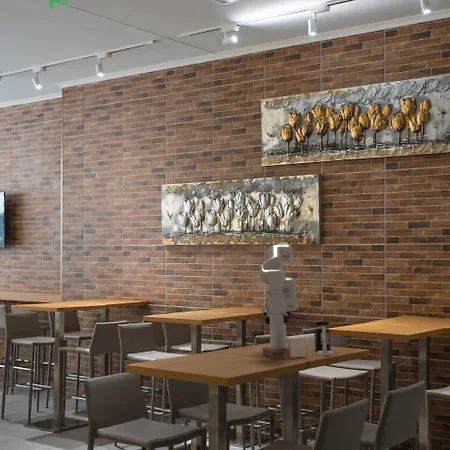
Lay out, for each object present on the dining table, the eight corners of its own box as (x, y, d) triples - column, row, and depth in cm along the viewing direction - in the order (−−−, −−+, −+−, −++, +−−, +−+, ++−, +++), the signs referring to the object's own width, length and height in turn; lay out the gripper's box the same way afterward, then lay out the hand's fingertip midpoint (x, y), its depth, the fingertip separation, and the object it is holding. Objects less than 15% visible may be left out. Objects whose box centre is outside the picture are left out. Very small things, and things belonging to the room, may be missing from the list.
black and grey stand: (314, 356, 407) (313, 328, 408) (317, 353, 417) (316, 326, 417) (332, 356, 405) (331, 328, 405) (335, 353, 414) (334, 326, 415)
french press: (319, 349, 435) (317, 309, 436) (334, 350, 430) (332, 310, 431) (310, 351, 425) (309, 311, 426) (326, 352, 420) (324, 311, 421)
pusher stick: (260, 354, 419) (260, 347, 419) (270, 354, 421) (270, 347, 421) (272, 359, 397) (272, 352, 397) (283, 359, 398) (283, 351, 398)
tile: (289, 357, 403) (288, 339, 404) (304, 356, 406) (304, 338, 406) (290, 358, 401) (289, 339, 402) (306, 357, 404) (305, 338, 404)
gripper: (262, 293, 406) (263, 325, 405) (292, 292, 410) (293, 323, 409) (258, 293, 413) (259, 324, 412) (288, 291, 417) (289, 322, 416)
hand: (276, 323), depth 411 cm, fingers open, 9 cm apart
